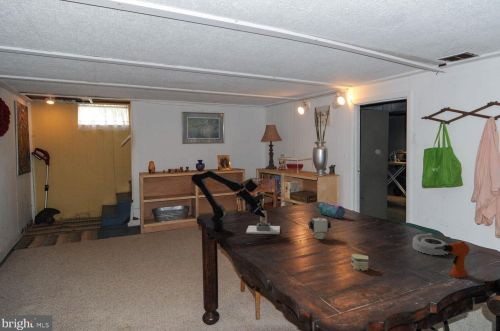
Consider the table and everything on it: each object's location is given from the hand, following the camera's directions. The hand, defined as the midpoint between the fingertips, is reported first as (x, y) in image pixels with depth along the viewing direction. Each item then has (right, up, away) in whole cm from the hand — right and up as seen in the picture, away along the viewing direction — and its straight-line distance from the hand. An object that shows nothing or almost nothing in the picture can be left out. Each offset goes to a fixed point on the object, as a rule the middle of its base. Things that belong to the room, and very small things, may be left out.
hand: (265, 215), depth 196 cm
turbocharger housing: (+80, -12, -38) cm, 89 cm away
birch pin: (-1, -9, +1) cm, 9 cm away
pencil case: (+50, -7, +36) cm, 62 cm away
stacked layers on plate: (+38, -14, -59) cm, 71 cm away
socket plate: (-1, -10, +1) cm, 10 cm away
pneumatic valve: (+30, -11, -16) cm, 36 cm away
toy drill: (+71, -14, -69) cm, 100 cm away
